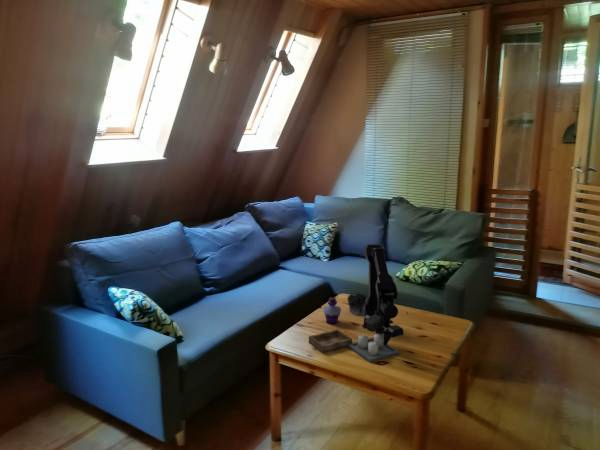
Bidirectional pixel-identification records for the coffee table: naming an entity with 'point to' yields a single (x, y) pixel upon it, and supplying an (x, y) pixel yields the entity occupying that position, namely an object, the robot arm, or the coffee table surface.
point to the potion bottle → (332, 311)
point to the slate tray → (382, 352)
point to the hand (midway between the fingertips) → (382, 343)
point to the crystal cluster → (356, 303)
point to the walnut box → (330, 341)
